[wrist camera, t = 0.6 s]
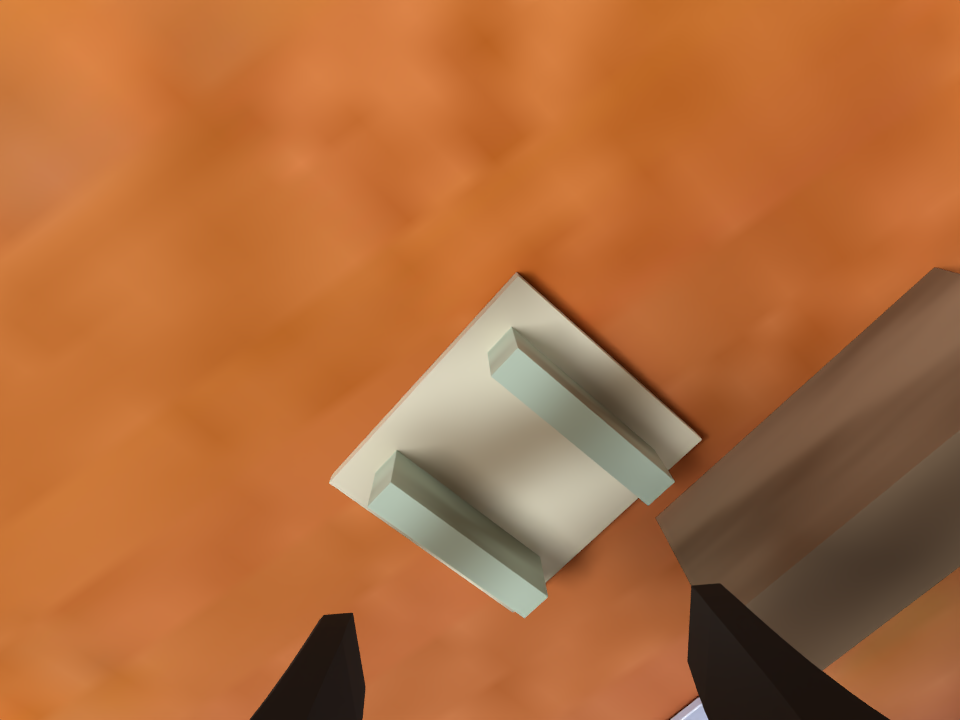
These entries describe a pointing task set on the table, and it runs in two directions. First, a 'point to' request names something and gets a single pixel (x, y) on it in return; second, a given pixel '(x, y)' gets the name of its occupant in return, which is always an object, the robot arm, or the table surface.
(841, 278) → the table surface
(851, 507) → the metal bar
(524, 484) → the rail stand
